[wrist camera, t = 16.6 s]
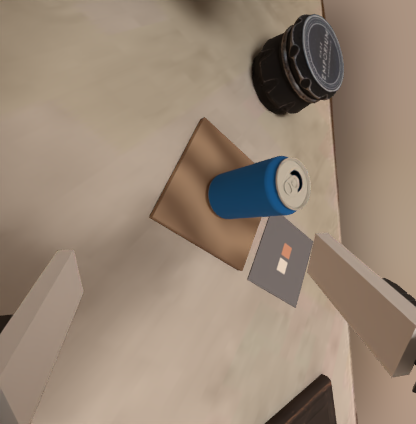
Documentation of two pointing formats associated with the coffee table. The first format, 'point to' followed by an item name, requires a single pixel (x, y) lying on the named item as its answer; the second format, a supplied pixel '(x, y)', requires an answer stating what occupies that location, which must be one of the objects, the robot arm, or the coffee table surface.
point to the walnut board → (206, 198)
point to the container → (299, 66)
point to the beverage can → (261, 189)
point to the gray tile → (281, 260)
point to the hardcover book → (309, 405)
